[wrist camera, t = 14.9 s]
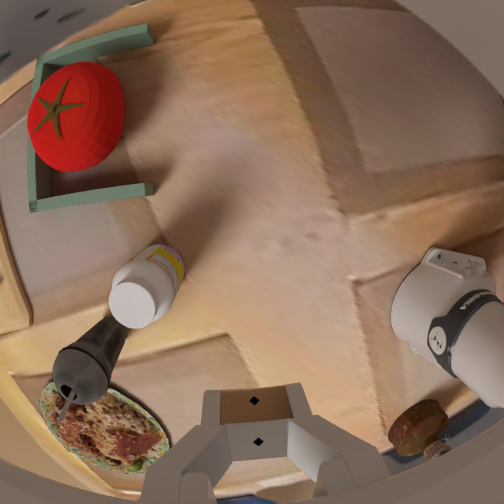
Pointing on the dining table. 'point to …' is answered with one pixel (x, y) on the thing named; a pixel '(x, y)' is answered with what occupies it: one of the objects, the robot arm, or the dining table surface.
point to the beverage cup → (89, 364)
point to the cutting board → (11, 292)
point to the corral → (44, 69)
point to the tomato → (77, 116)
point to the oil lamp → (420, 430)
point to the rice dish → (105, 430)
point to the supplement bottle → (146, 286)
